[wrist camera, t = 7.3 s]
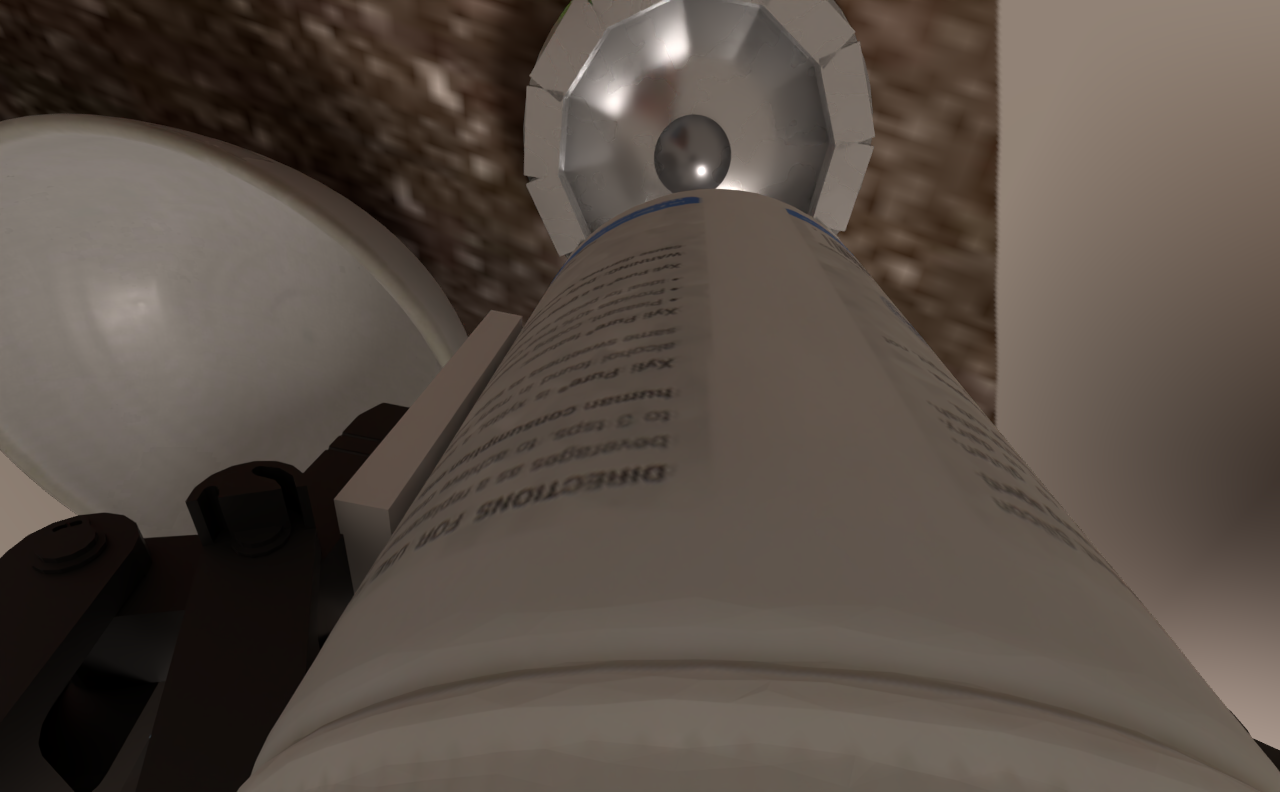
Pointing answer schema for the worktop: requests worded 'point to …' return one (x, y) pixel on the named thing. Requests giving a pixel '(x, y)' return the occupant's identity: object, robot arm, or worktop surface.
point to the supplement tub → (741, 562)
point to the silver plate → (695, 109)
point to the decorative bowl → (190, 314)
